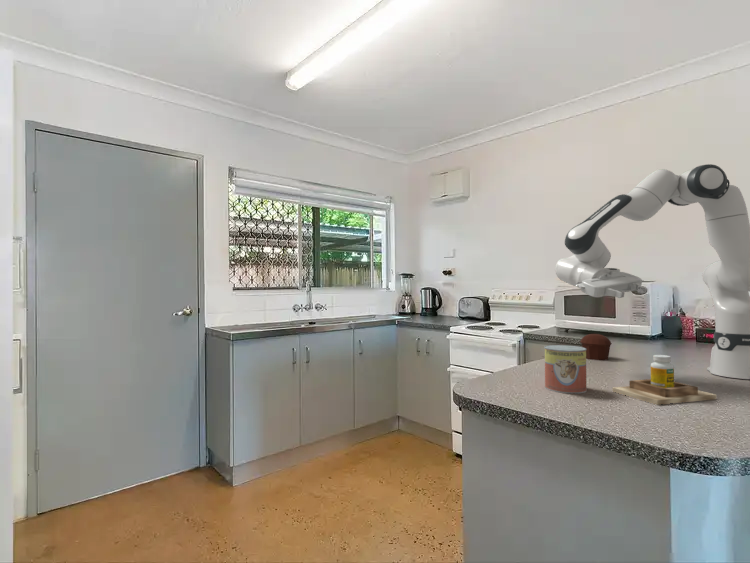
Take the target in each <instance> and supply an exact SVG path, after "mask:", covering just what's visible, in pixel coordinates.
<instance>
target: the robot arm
mask: <svg viewBox="0 0 750 563" xmlns="http://www.w3.org/2000/svg"><path fill="white" fill-rule="evenodd" d="M667 202H668V203H669V204H671V205H673V206H677V207H678V206H679V207H685V206H689V205H691V204H696V203H698V204H699V205H700V206H701V207H702V209H703V212H704V219H705V220H704V221H705V226H706V232H707V238H708V243H709V244H710V246H711V247H712V248H713V249H714V250H715V251H716V253H717V255H718V257H719V259H720V260H716V261H715V262H712V263H710V264H709V265H707V266H706V267H705V268H704V269H703V271H702V275H701V276H702V281H703V283H704V284H705V285H706V286H707V288H708V289H709V293H710V296H711V299H712V303H713V306H714V317H715V318H714V321H715V322H714V323H715V324H714V326H715V328H714V330H715V331H714V332H713V342H714V345H713V346H712V348H711V351H710V352H711V354H710V355H711V356H710V362H709V363H710V364H709V366H707V371H708V372H709V373H710V374H712V375H715V376H718V377H719V376H721V377H725V378H726V377H727V378H733V379H741V380H742V379H743V380H750V219H749V213H748V208H747V205H746V201H745V198H744V196H743V193H742V191H741V189H740V188H739V187H738V186H736V185H734V184H731V183H730V180H729V179H728V177H727V174H726V173H725V171H724V170H723V168H721V167H720V166H718V165H716V164H709V163H708V164H702V165H698V166H696V167H693V168H692V169H688V170H687V171H684V172H683V173H681V174H679V175H677V174H675V173H674V172H673V171H671V170H668V169H665V168H662V169H656V170H654V171H653V172H651V173H650V174H648V175H647V176H645V177H644V178H643V179H642V180H641V181H640V182H639V183H637V185H635V187H633V189H631V190H630V191H629V192H628V193H625V194H623V193H622V194H619V195H616V196H615V197H613V198H611V199H610V200H609V201H608V202H606V203H605V204H604V205H602V206H600V208H598V209H597V210H596V211H595V212H593V213H592V214H591V215H589V216H588V217H587V218H586V219H585V220H583V221H582V222H580V223H579V224H577V225H575V226H573V227H572V228H571V229H570V230H568V232H567V233H566V235H565V237H564V238H565V239H564V246H565V248H566V249H568V250H569V251H570V253H572V255H570V256H568V257H562V258H559V260H557V261H556V264H555V269H554V271H555V275H556V277H557V278H558V279H559V280H561V282H564V283H566V284H569V285H571V286H573V287H576V288H579V289H580V290H581V292H582V293H584V294H585V295H588V296H590V297H593V298H602V297H615V298H618V299H620V298H624V297H625V293H628V292H632V291H637V293H638V294H646V293H647V287H646V286H642V283H643V279H642V278H641V277H639V276H637V275H635V274H632V273H628V272H625V271H621V269H619V268H617V267H606V266H607V265H608V264H609V263H610V261H611V256H612V253H611V251H610V250H609V249H608V247H607V246H606V245H605V243H604V242H603V241H602V240H601V237H599V233H600V231H601V230H602V229H603V228H604V227H606V226H608V224H609V223H611V222H612V221H613V220H614V219H616V218H617V217H620V216H621V217H624V218H626V219H628V220H631V221H634V222H644V221H647V220H649V219H651V218H653V217H654V216H655V215H656V214H657V213H658V212H660V210H661V209H662V208H663V207H664V206H665V205H666V204H667Z"/></svg>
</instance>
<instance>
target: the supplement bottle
mask: <svg viewBox="0 0 750 563" xmlns="http://www.w3.org/2000/svg"><path fill="white" fill-rule="evenodd" d="M652 357H653V358H652V360H653V361H654V362H651V363H650V379H651V385H654V386H658V387H662V388H671V387H674V382H675V367H674V365H673V364H672V363H670V362H672V357H671V355H666V354H665V355H664V354H654V355H653V356H652Z"/></svg>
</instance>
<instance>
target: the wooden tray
mask: <svg viewBox="0 0 750 563" xmlns="http://www.w3.org/2000/svg"><path fill="white" fill-rule="evenodd" d="M628 382H629V385H628V386H627V385H625V386H616V387H614V386H613V387H611V388H612V391H613V392H612V393H615V392H616V393H615V394H618V393H619V395H621V394H623V395H622V396H625V395H626V396H625V397H628V396H629V398H631V397H633V398H632V399H635V398H636V399H635V400H638V399H639V401H642V402H645V401H646V402H645V403H648V402H649V404H652V403H653V404H652V405H655V404H656V406H661V404H663V405H671V404H670V403H673V404H682V402H683V403H689V402H691V403H692V402H701V401H711V400H717V399H718V398H717V394H716V393H712V392H707V391H702V390H699V386H695V385H692V384H687V383H683V382H678V381H674V387H671V388H662V387H658V386H654V385H651V378H647V379H646V378H645V379H632V380H631V379H630V380H629V381H628Z"/></svg>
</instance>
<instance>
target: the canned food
mask: <svg viewBox="0 0 750 563" xmlns="http://www.w3.org/2000/svg"><path fill="white" fill-rule="evenodd" d="M543 348H544V389H546V390H548V391H552V392H555V393H560V394H561V393H563V394H573V393H575V394H584V393H586V392H587V391H588V389H587V359H586V348H583V347H582V346H577V345H568V344H567V345H566V344H565V345H564V344H563V345H562V344H551V345H545V346H544V347H543Z"/></svg>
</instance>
